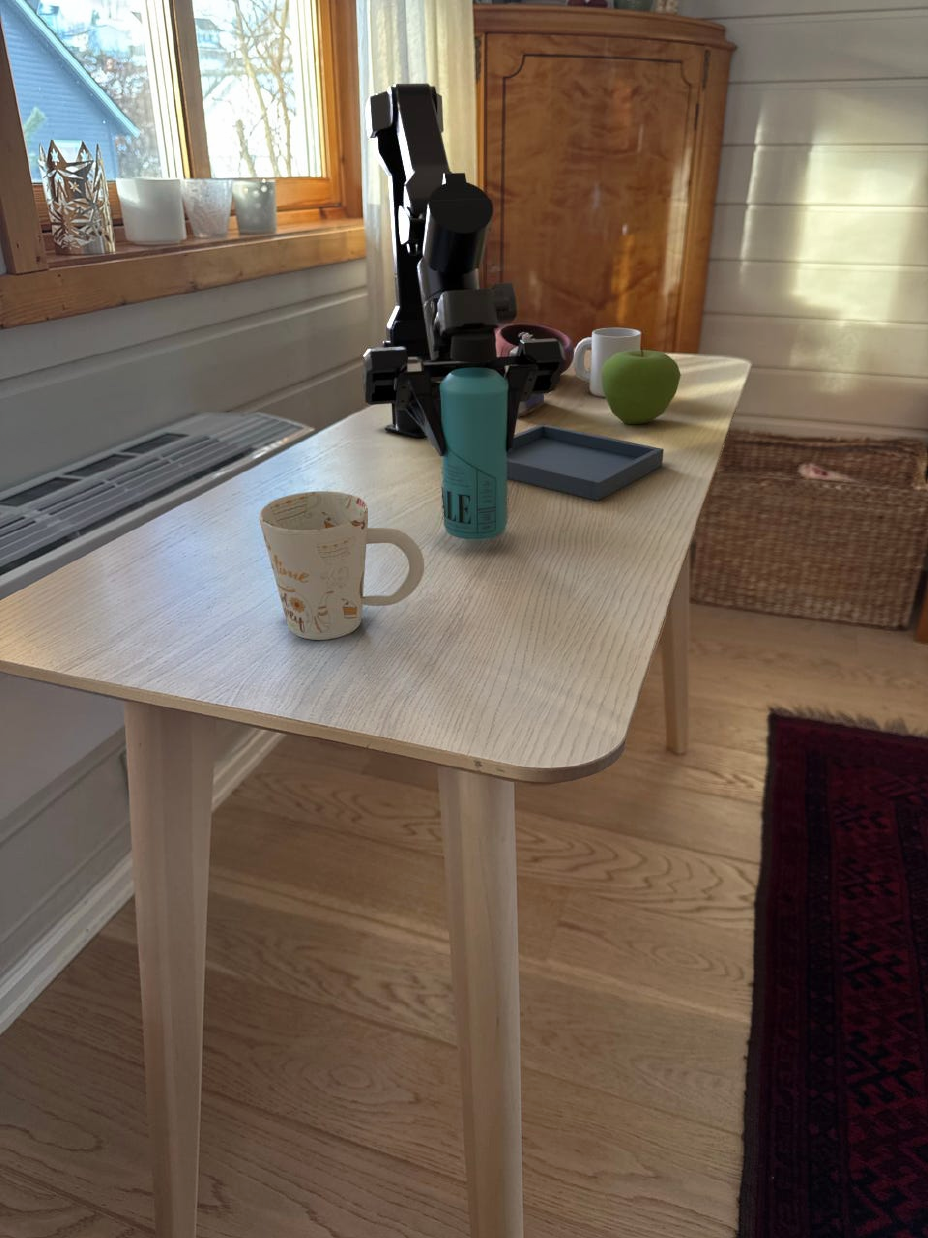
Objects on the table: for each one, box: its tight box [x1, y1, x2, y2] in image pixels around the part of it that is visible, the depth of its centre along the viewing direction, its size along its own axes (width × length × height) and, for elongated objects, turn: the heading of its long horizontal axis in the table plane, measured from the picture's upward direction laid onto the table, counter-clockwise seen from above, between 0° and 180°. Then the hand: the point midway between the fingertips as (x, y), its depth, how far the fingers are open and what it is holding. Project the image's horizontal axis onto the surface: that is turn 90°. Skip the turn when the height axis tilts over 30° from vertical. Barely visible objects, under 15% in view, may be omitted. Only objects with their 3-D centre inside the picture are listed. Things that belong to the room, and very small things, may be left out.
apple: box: [601, 347, 682, 425], centre depth 122 cm, size 11×10×10 cm
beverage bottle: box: [440, 331, 510, 541], centre depth 84 cm, size 6×7×20 cm
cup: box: [573, 327, 642, 398], centre depth 136 cm, size 7×10×9 cm
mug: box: [258, 490, 425, 641], centre depth 72 cm, size 8×13×10 cm, turn 95°
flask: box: [509, 332, 545, 418], centre depth 128 cm, size 9×3×11 cm, turn 151°
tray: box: [507, 423, 665, 502], centre depth 107 cm, size 18×15×2 cm
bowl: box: [495, 322, 575, 375], centre depth 145 cm, size 16×13×8 cm
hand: (476, 451), depth 83 cm, fingers closed on beverage bottle, 6 cm apart
